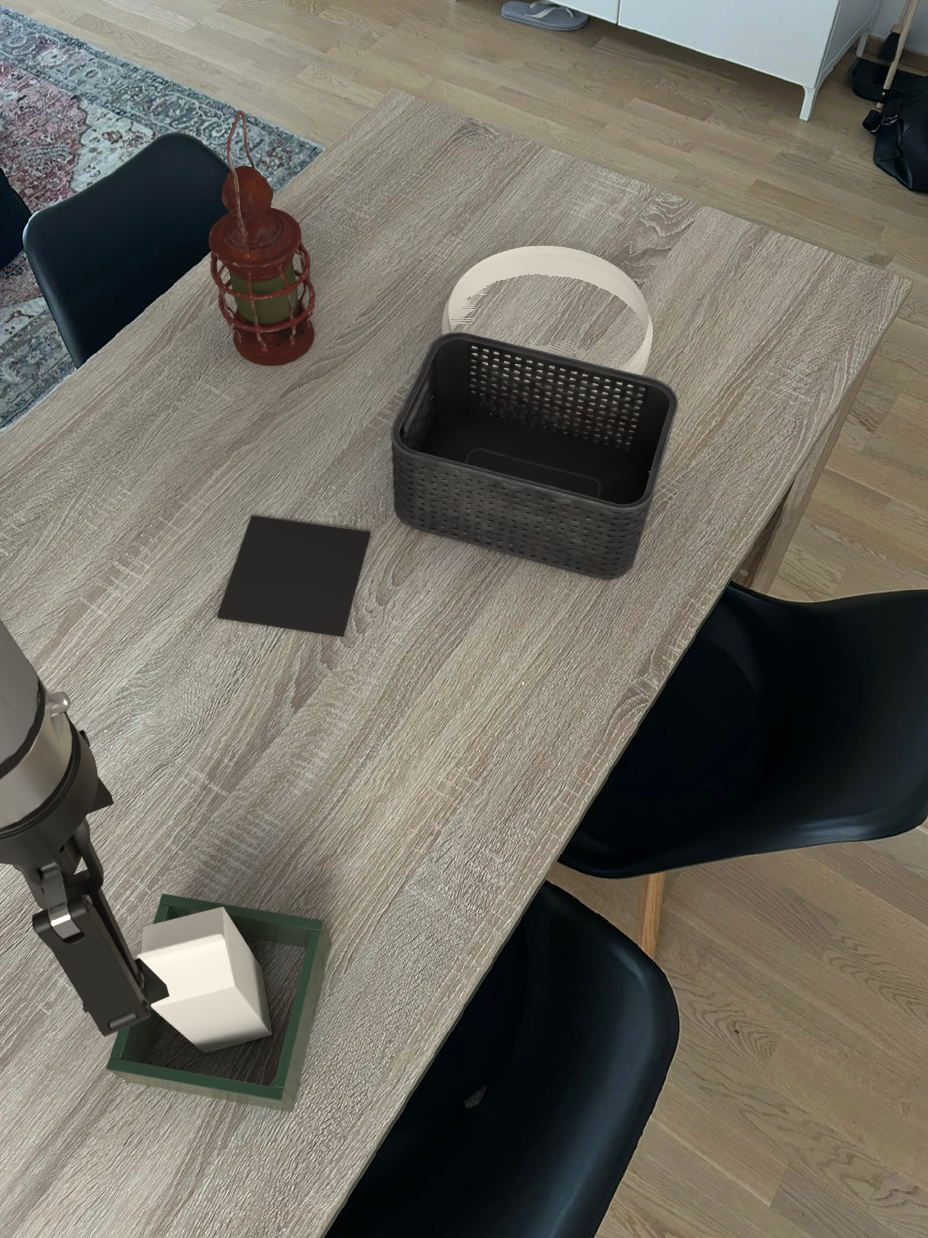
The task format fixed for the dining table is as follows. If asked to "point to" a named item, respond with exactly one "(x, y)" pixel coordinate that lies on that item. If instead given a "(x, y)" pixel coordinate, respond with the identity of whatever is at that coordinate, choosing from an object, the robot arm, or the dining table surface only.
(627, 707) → the dining table surface
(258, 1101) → the holder
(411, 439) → the storage bin
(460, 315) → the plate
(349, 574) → the mat
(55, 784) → the robot arm
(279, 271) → the lantern
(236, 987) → the milk
